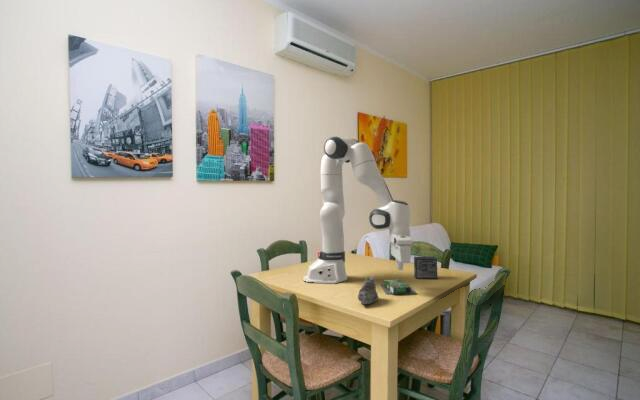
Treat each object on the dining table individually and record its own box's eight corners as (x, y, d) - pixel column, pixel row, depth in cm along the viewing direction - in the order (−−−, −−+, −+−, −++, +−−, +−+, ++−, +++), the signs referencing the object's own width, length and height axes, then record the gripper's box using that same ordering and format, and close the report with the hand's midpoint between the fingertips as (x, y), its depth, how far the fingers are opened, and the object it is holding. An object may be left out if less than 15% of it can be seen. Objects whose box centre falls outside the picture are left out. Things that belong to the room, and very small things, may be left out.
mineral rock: (362, 308, 129) (362, 282, 129) (345, 301, 138) (345, 276, 138) (387, 302, 136) (387, 277, 136) (369, 295, 145) (369, 272, 145)
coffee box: (392, 287, 144) (383, 280, 158) (392, 294, 145) (383, 286, 158) (410, 286, 146) (399, 279, 159) (411, 293, 146) (399, 285, 159)
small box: (434, 276, 177) (434, 256, 176) (437, 279, 170) (437, 258, 170) (413, 276, 178) (413, 255, 177) (416, 279, 171) (416, 258, 171)
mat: (386, 294, 146) (386, 293, 146) (380, 285, 160) (380, 284, 160) (416, 293, 146) (416, 293, 146) (408, 285, 160) (408, 284, 160)
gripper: (387, 234, 159) (387, 264, 159) (397, 241, 138) (398, 275, 138) (401, 234, 159) (401, 264, 159) (413, 241, 138) (413, 274, 138)
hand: (400, 269), depth 148 cm, fingers closed
